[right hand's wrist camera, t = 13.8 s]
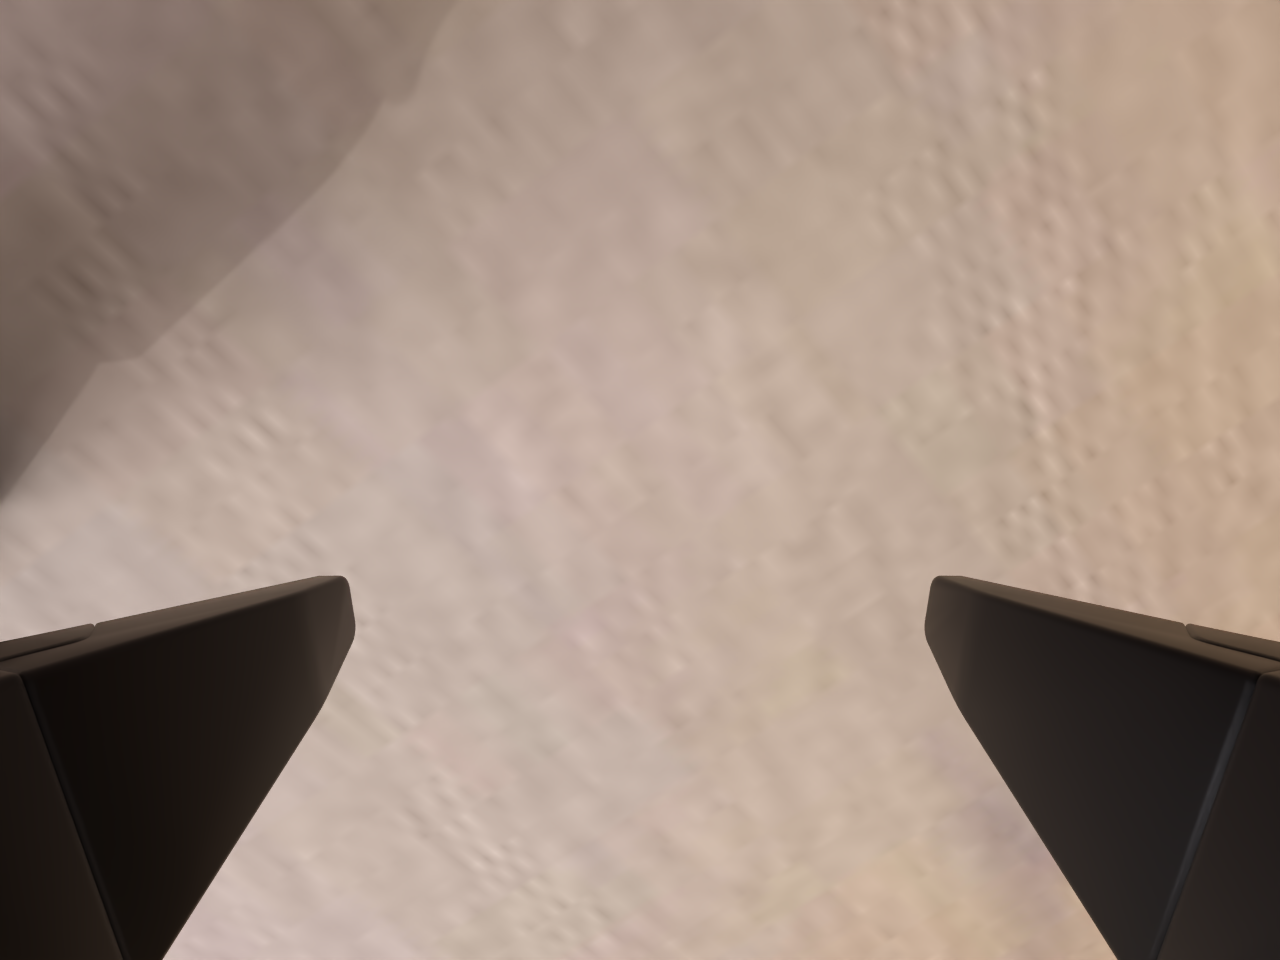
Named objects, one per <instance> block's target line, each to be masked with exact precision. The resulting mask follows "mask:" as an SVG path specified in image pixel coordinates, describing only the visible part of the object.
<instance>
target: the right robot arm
mask: <svg viewBox="0 0 1280 960" xmlns="http://www.w3.org/2000/svg"><path fill="white" fill-rule="evenodd" d="M354 636H355V618H354V612H353V606H352V599H351V593H350V587H349V584H348V581H347V579H346V578H345V577H343V576H316V577H311V578H307V579H302V580H297V581H293V582H288V583H283V584H279V585H274V586H269V587H265V588H260V589H255V590H250V591H246V592H241V593H236V594H232V595H227V596H222V597H218V598H213V599H208V600H203V601H199V602H194V603H189V604H185V605H180V606H175V607H171V608H166V609H161V610H156V611H152V612H147V613H142V614H138V615H133V616H128V617H124V618H119V619H114V620H110V621H105V622H100V623H97V624H96V625H95V627H94V625H93V624H86V625H81V626H77V627H72V628H67V629H62V630H57V631H52V632H48V633H43V634H38V635H33V636H28V637H23V638H18V639H13V640H8V641H3V642H0V960H163V958H164V956H165V955H166V953H167V952H168V950H169V949H170V947H171V945H172V944H173V942H174V941H175V939H176V937H177V936H178V934H179V933H180V931H181V930H182V928H183V926H184V925H185V923H186V922H187V920H188V919H189V917H190V915H191V914H192V912H193V911H194V909H195V907H196V906H197V904H198V903H199V901H200V900H201V898H202V896H203V895H204V893H205V892H206V890H207V889H208V887H209V885H210V884H211V882H212V881H213V879H214V878H215V876H216V874H217V873H218V871H219V870H220V868H221V866H222V865H223V863H224V862H225V860H226V859H227V857H228V855H229V854H230V852H231V851H232V849H233V848H234V846H235V844H236V843H237V841H238V840H239V838H240V836H241V835H242V833H243V832H244V830H245V829H246V827H247V825H248V824H249V822H250V821H251V819H252V818H253V816H254V814H255V813H256V811H257V810H258V808H259V807H260V805H261V803H262V802H263V800H264V799H265V797H266V795H267V794H268V792H269V791H270V789H271V788H272V786H273V784H274V783H275V781H276V780H277V778H278V777H279V775H280V773H281V772H282V770H283V769H284V767H285V765H286V764H287V762H288V761H289V759H290V758H291V756H292V754H293V753H294V751H295V750H296V748H297V747H298V745H299V743H300V742H301V740H302V739H303V737H304V736H305V734H306V732H307V731H308V729H309V728H310V726H311V724H312V723H313V721H314V720H315V718H316V716H317V715H318V713H319V711H320V710H321V708H322V706H323V704H324V702H325V700H326V698H327V696H328V694H329V692H330V690H331V688H332V686H333V683H334V681H335V679H336V677H337V675H338V673H339V670H340V668H341V666H342V664H343V662H344V660H345V658H346V655H347V653H348V651H349V649H350V647H351V645H352V642H353V640H354ZM925 636H926V640H927V642H928V645H929V647H930V649H931V651H932V653H933V655H934V658H935V660H936V662H937V664H938V666H939V668H940V670H941V673H942V675H943V677H944V679H945V681H946V683H947V686H948V688H949V690H950V692H951V694H952V696H953V698H954V700H955V702H956V704H957V706H958V708H959V710H960V711H961V713H962V715H963V716H964V718H965V720H966V721H967V723H968V724H969V726H970V728H971V729H972V731H973V732H974V734H975V735H976V737H977V739H978V740H979V742H980V743H981V745H982V747H983V748H984V750H985V751H986V753H987V754H988V756H989V758H990V759H991V761H992V762H993V764H994V765H995V767H996V769H997V770H998V772H999V773H1000V775H1001V776H1002V778H1003V780H1004V781H1005V783H1006V784H1007V786H1008V787H1009V789H1010V791H1011V792H1012V794H1013V795H1014V797H1015V799H1016V800H1017V802H1018V803H1019V805H1020V806H1021V808H1022V810H1023V811H1024V813H1025V814H1026V816H1027V817H1028V819H1029V821H1030V822H1031V824H1032V825H1033V827H1034V829H1035V830H1036V832H1037V833H1038V835H1039V836H1040V838H1041V840H1042V841H1043V843H1044V844H1045V846H1046V847H1047V849H1048V851H1049V852H1050V854H1051V855H1052V857H1053V859H1054V860H1055V862H1056V863H1057V865H1058V866H1059V868H1060V870H1061V871H1062V873H1063V874H1064V876H1065V877H1066V879H1067V881H1068V882H1069V884H1070V885H1071V887H1072V889H1073V890H1074V892H1075V893H1076V895H1077V896H1078V898H1079V900H1080V901H1081V903H1082V904H1083V906H1084V907H1085V909H1086V911H1087V912H1088V914H1089V915H1090V917H1091V918H1092V920H1093V922H1094V923H1095V925H1096V926H1097V928H1098V930H1099V931H1100V933H1101V934H1102V936H1103V937H1104V939H1105V941H1106V942H1107V944H1108V945H1109V947H1110V948H1111V950H1112V952H1113V953H1114V955H1115V956H1116V958H1117V960H1280V642H1277V641H1272V640H1267V639H1262V638H1257V637H1252V636H1247V635H1242V634H1237V633H1232V632H1228V631H1223V630H1218V629H1213V628H1208V627H1203V626H1199V625H1194V624H1187V625H1186V627H1185V625H1184V624H1183V623H1180V622H1176V621H1171V620H1166V619H1161V618H1157V617H1152V616H1147V615H1143V614H1138V613H1133V612H1129V611H1124V610H1119V609H1114V608H1110V607H1105V606H1100V605H1096V604H1091V603H1086V602H1081V601H1077V600H1072V599H1067V598H1063V597H1058V596H1053V595H1049V594H1044V593H1039V592H1034V591H1030V590H1025V589H1020V588H1016V587H1011V586H1006V585H1001V584H997V583H992V582H987V581H983V580H978V579H973V578H969V577H964V576H937V577H935V578H934V579H933V581H932V584H931V587H930V593H929V599H928V606H927V612H926V618H925Z"/></svg>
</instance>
